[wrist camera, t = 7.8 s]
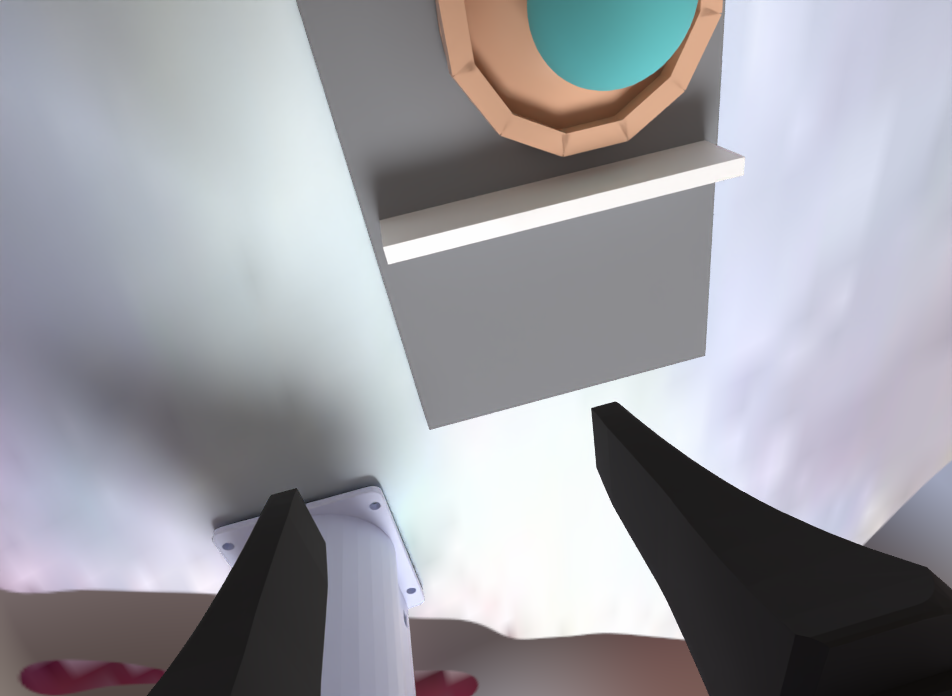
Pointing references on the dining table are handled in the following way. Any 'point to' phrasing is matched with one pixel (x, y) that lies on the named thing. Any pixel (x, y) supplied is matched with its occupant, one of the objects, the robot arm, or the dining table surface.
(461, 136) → the mat
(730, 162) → the wall
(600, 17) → the ball
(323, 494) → the dining table surface
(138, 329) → the dining table surface
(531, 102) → the saucer
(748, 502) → the robot arm
